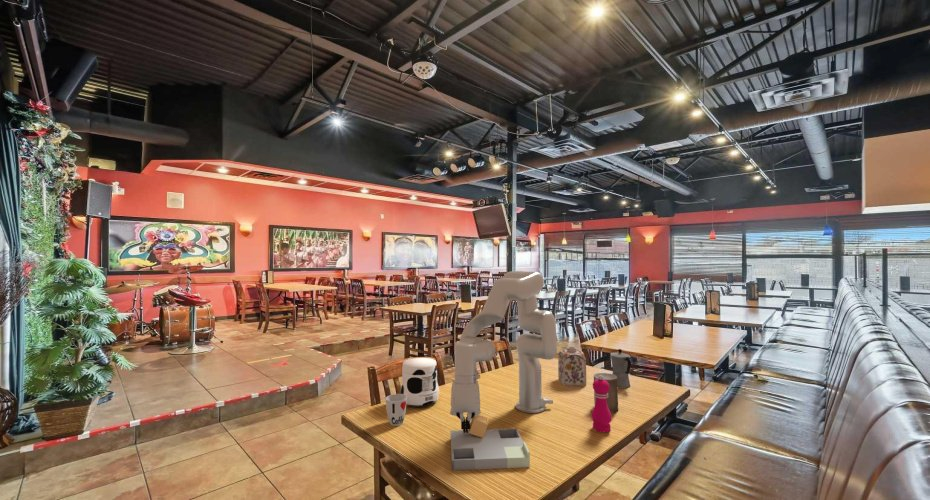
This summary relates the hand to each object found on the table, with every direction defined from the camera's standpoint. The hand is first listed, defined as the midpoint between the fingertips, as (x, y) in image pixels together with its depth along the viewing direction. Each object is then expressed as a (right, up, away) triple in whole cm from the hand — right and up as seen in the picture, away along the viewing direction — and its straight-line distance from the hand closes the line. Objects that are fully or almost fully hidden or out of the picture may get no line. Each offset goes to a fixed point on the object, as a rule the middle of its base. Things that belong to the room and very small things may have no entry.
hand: (465, 431), depth 133 cm
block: (+4, -1, 0) cm, 4 cm away
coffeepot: (+78, -5, +58) cm, 98 cm away
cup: (-27, -5, +17) cm, 32 cm away
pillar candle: (+60, -5, +30) cm, 68 cm away
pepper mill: (+51, -4, +11) cm, 53 cm away
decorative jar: (+55, -5, +64) cm, 85 cm away
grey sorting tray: (+7, -4, -6) cm, 10 cm away
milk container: (-21, -6, +38) cm, 44 cm away
